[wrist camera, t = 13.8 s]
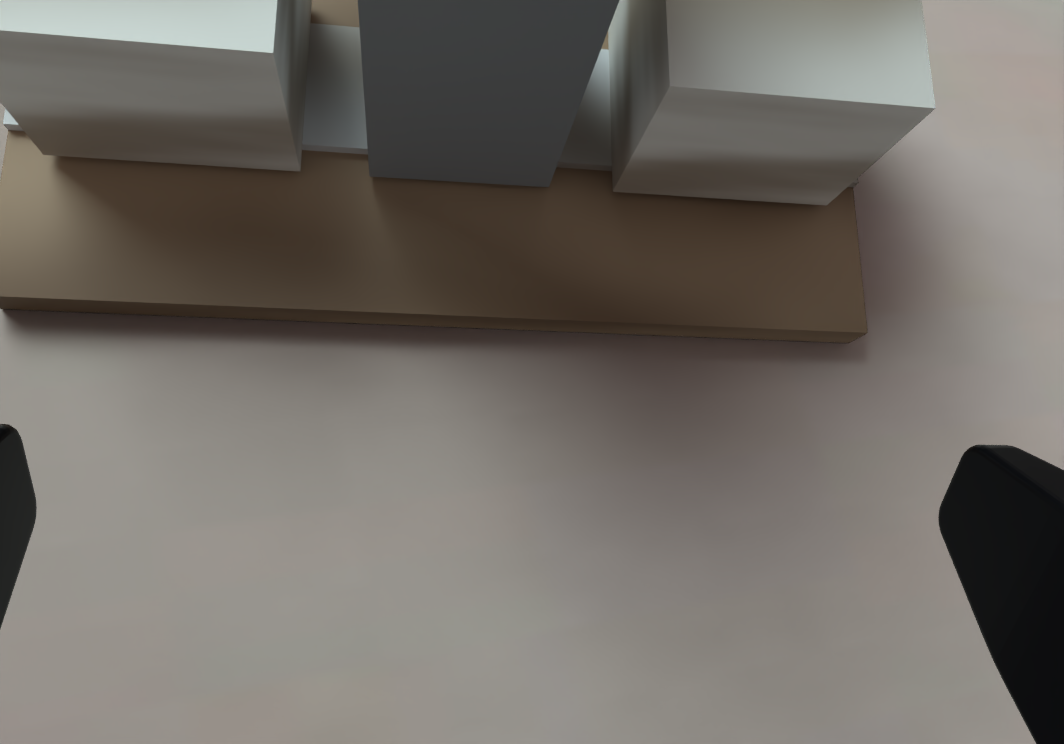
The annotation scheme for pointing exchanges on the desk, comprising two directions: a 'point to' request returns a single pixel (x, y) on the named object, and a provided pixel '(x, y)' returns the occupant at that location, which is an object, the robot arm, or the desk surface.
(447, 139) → the block
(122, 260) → the rail board
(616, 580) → the desk surface
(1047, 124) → the desk surface
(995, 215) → the desk surface
